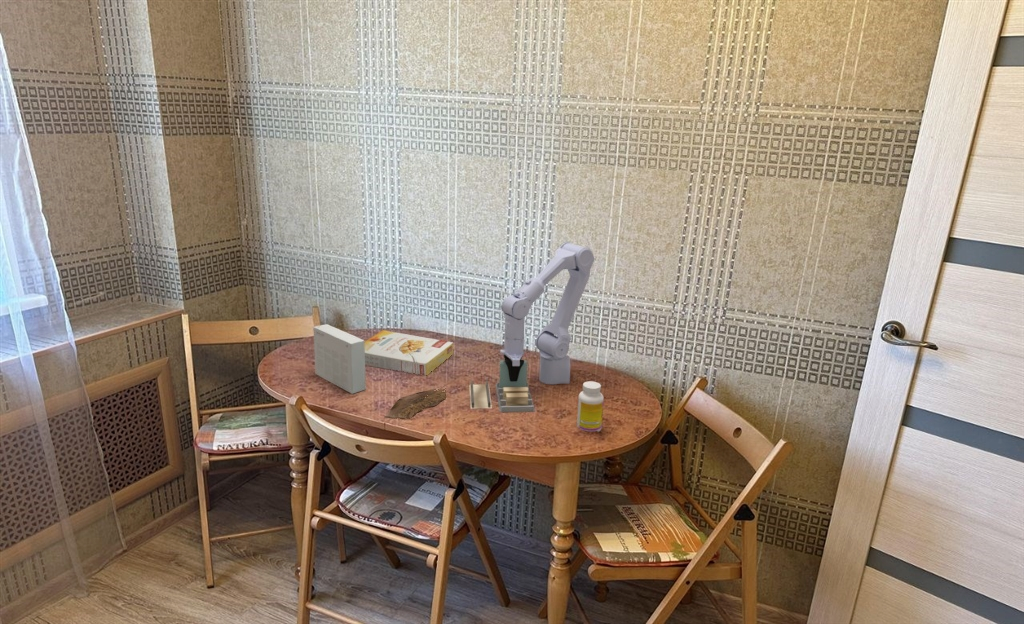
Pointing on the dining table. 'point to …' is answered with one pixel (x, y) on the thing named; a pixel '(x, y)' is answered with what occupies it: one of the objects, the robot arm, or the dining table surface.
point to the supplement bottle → (590, 407)
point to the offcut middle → (514, 390)
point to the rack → (513, 408)
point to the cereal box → (406, 352)
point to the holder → (480, 396)
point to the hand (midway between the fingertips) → (513, 379)
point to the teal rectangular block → (506, 380)
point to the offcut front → (516, 399)
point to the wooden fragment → (415, 403)
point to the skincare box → (339, 358)
